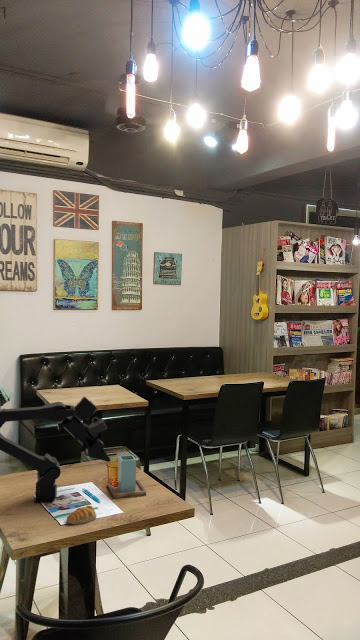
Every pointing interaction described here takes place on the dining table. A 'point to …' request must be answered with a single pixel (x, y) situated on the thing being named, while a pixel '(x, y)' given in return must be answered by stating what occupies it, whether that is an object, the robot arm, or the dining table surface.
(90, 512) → the pastry
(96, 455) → the robot arm
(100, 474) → the dining table surface
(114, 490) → the tray
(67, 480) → the dining table surface
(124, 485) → the light blue square vase
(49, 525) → the dining table surface
